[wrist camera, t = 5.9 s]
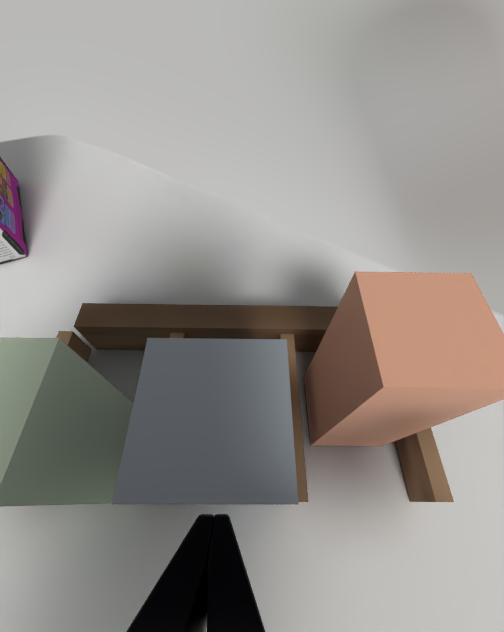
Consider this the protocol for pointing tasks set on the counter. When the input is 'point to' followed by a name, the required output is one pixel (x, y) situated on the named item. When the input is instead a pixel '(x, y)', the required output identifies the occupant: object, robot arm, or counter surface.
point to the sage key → (57, 426)
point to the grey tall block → (210, 425)
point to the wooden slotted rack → (250, 323)
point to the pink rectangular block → (403, 358)
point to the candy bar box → (10, 218)
